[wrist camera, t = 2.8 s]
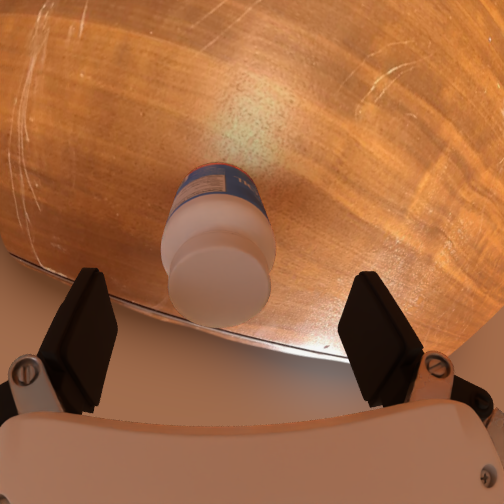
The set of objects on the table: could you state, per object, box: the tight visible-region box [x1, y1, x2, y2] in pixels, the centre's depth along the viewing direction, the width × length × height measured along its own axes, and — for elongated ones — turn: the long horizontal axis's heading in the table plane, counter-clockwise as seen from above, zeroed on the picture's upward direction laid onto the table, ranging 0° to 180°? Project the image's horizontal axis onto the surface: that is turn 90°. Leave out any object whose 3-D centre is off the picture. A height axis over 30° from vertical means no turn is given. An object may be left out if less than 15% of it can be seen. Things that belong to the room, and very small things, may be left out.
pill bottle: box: [161, 163, 276, 328], centre depth 15 cm, size 6×5×10 cm
